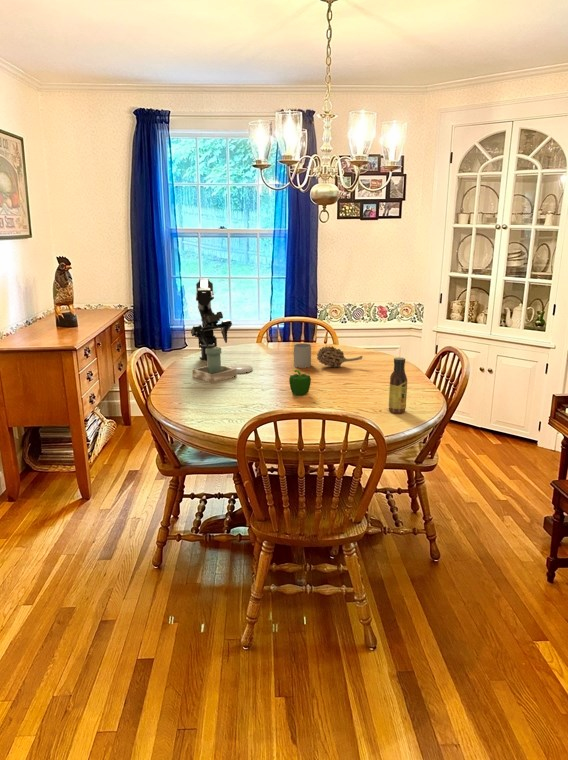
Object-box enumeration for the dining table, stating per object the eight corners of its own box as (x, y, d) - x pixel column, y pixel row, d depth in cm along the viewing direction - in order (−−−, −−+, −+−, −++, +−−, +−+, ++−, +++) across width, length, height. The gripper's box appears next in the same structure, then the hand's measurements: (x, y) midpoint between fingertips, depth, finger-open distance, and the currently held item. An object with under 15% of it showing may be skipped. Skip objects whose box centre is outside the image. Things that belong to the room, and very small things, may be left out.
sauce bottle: (404, 415, 202) (406, 361, 196) (386, 413, 204) (389, 360, 198) (407, 409, 208) (410, 357, 202) (390, 407, 210) (392, 355, 204)
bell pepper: (314, 395, 225) (314, 371, 222) (296, 398, 221) (296, 374, 218) (303, 390, 232) (303, 366, 229) (286, 393, 228) (286, 369, 225)
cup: (313, 366, 268) (313, 346, 265) (298, 368, 265) (297, 348, 262) (306, 362, 275) (306, 342, 272) (291, 364, 272) (291, 344, 270)
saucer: (221, 370, 263) (221, 368, 263) (240, 365, 271) (240, 363, 271) (238, 375, 255) (238, 372, 255) (257, 370, 263) (257, 367, 263)
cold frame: (192, 377, 253) (192, 369, 252) (216, 370, 262) (216, 363, 261) (212, 382, 243) (211, 375, 242) (236, 376, 253) (236, 368, 252)
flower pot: (203, 376, 253) (202, 348, 249) (215, 373, 257) (214, 346, 254) (213, 379, 248) (212, 351, 244) (225, 376, 253) (224, 348, 249)
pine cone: (316, 369, 263) (316, 348, 260) (317, 364, 272) (317, 344, 270) (363, 370, 261) (364, 349, 258) (362, 364, 270) (363, 344, 268)
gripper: (191, 309, 249) (202, 341, 246) (230, 303, 258) (240, 333, 254) (186, 320, 259) (196, 350, 255) (223, 314, 267) (233, 343, 264)
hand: (217, 344), depth 257 cm, fingers open, 9 cm apart
